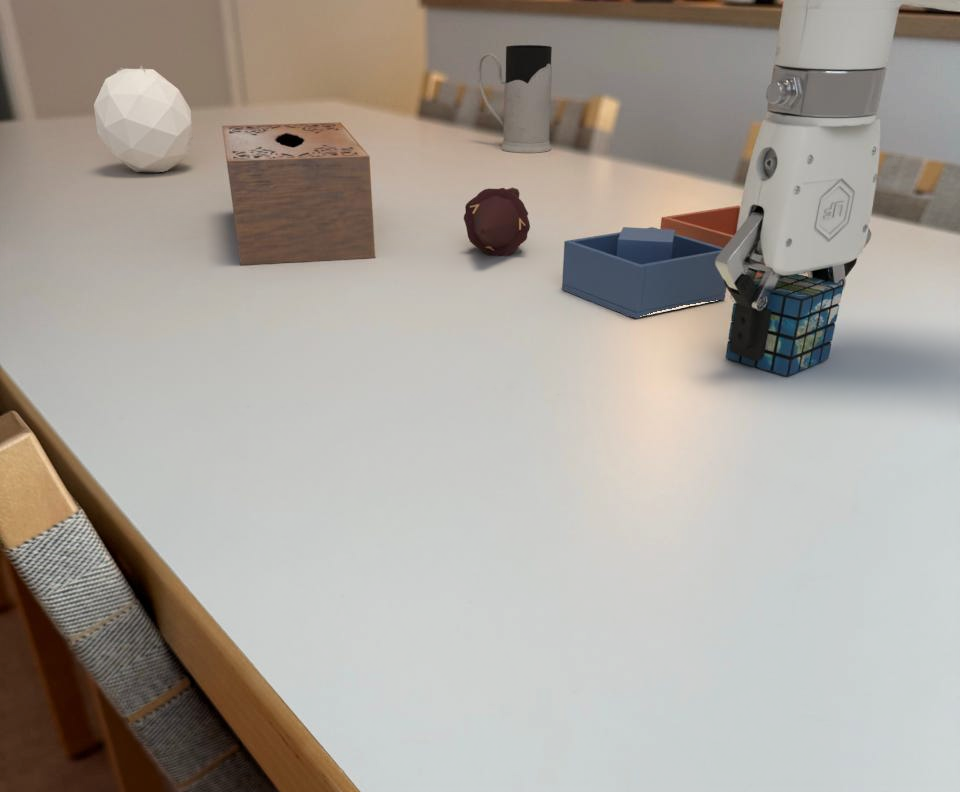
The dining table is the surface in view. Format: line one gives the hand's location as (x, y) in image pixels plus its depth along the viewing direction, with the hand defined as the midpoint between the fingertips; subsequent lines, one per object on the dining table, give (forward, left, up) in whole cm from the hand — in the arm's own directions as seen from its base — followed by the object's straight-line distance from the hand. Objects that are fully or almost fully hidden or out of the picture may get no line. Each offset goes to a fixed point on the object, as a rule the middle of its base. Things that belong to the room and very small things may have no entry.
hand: (778, 345), depth 78 cm
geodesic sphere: (+17, -111, -1) cm, 112 cm away
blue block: (-3, -20, -1) cm, 20 cm away
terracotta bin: (-18, -23, -1) cm, 29 cm away
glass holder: (-43, -101, -1) cm, 110 cm away
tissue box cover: (+15, -61, -1) cm, 63 cm away
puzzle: (0, 0, -1) cm, 1 cm away
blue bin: (-3, -20, -1) cm, 20 cm away
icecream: (0, -41, -1) cm, 41 cm away
